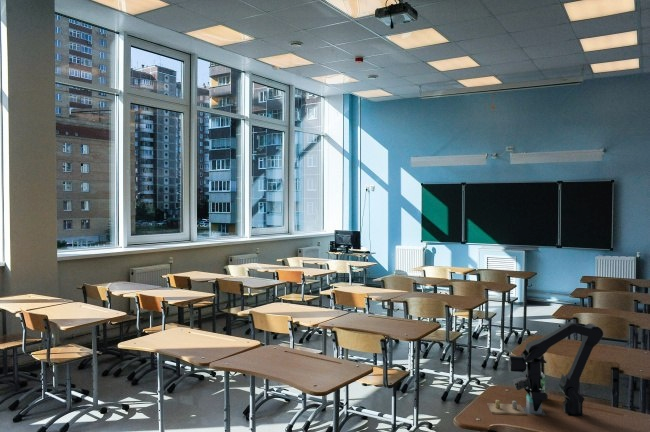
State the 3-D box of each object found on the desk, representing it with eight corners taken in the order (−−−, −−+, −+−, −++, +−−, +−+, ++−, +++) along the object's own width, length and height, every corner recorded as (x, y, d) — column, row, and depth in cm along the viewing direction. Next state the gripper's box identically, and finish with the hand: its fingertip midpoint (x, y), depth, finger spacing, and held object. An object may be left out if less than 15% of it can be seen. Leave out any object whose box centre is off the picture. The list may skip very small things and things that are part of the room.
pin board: (520, 406, 224) (520, 397, 224) (526, 415, 214) (526, 406, 214) (487, 405, 226) (487, 396, 225) (491, 414, 216) (491, 404, 216)
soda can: (527, 400, 231) (527, 374, 231) (526, 394, 238) (526, 369, 238) (545, 402, 228) (545, 375, 228) (543, 396, 236) (543, 370, 236)
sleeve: (538, 409, 220) (538, 395, 220) (541, 413, 215) (541, 399, 215) (526, 408, 221) (526, 394, 221) (529, 413, 216) (529, 398, 216)
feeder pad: (541, 408, 221) (541, 407, 221) (546, 415, 213) (546, 415, 213) (521, 407, 223) (521, 406, 223) (526, 414, 215) (526, 414, 215)
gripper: (509, 365, 228) (509, 399, 228) (519, 378, 210) (519, 416, 210) (535, 366, 227) (535, 400, 227) (548, 379, 208) (548, 417, 208)
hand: (534, 408), depth 218 cm, fingers closed on sleeve, 5 cm apart
